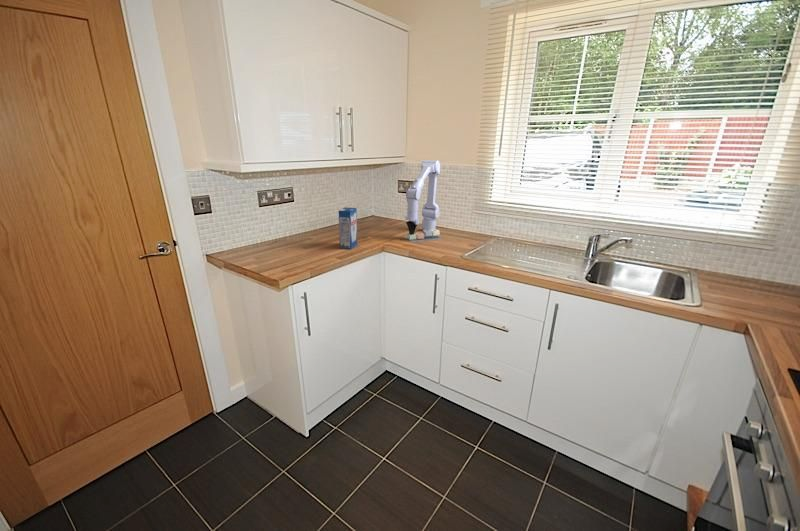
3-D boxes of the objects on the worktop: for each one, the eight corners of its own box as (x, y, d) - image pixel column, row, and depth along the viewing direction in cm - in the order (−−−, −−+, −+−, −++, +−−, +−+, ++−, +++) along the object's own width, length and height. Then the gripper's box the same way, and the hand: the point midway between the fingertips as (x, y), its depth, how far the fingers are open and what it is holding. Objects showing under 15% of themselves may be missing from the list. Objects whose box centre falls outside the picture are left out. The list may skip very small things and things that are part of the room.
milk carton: (351, 249, 178) (350, 211, 171) (339, 248, 179) (338, 210, 172) (357, 244, 187) (356, 207, 180) (346, 243, 188) (345, 207, 181)
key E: (406, 237, 196) (407, 233, 195) (413, 237, 198) (413, 233, 197) (409, 239, 193) (409, 235, 192) (416, 239, 194) (416, 234, 193)
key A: (430, 233, 201) (430, 229, 200) (436, 233, 203) (436, 229, 202) (433, 235, 198) (433, 231, 197) (439, 234, 199) (439, 230, 198)
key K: (422, 234, 199) (422, 230, 199) (428, 233, 201) (428, 229, 200) (425, 236, 196) (425, 231, 195) (431, 235, 197) (432, 231, 197)
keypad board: (403, 238, 200) (403, 236, 199) (433, 236, 207) (433, 234, 207) (411, 244, 190) (411, 242, 189) (443, 241, 197) (443, 239, 197)
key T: (414, 237, 198) (414, 233, 197) (420, 236, 199) (421, 232, 199) (417, 239, 195) (417, 234, 194) (424, 238, 196) (424, 234, 195)
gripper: (400, 208, 194) (400, 231, 199) (411, 213, 182) (410, 238, 187) (412, 208, 197) (411, 231, 202) (423, 212, 185) (422, 237, 189)
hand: (411, 234), depth 194 cm, fingers closed, pressing on key E
